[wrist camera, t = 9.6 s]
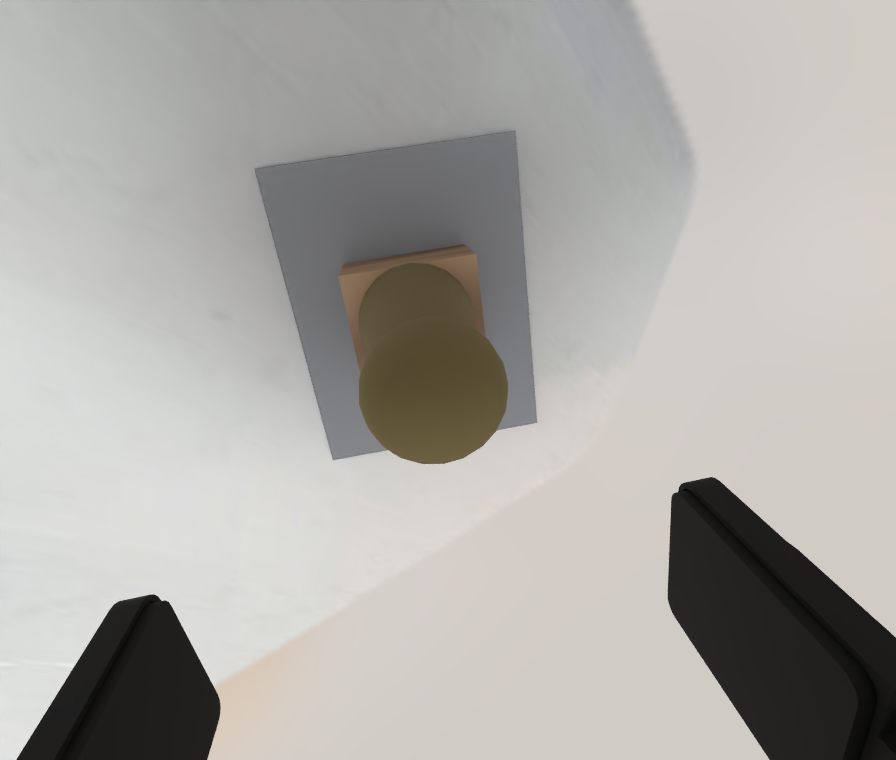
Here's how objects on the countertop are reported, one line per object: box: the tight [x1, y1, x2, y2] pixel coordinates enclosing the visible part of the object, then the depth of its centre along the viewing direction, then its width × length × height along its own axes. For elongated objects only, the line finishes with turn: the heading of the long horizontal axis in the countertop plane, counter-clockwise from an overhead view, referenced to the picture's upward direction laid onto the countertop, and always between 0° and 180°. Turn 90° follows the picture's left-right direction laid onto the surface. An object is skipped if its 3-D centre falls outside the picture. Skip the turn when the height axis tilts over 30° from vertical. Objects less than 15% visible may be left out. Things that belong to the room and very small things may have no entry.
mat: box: [255, 131, 537, 460], centre depth 30 cm, size 18×14×1 cm
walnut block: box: [338, 244, 486, 374], centre depth 28 cm, size 7×7×4 cm
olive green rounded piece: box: [359, 263, 508, 464], centre depth 21 cm, size 6×6×11 cm
